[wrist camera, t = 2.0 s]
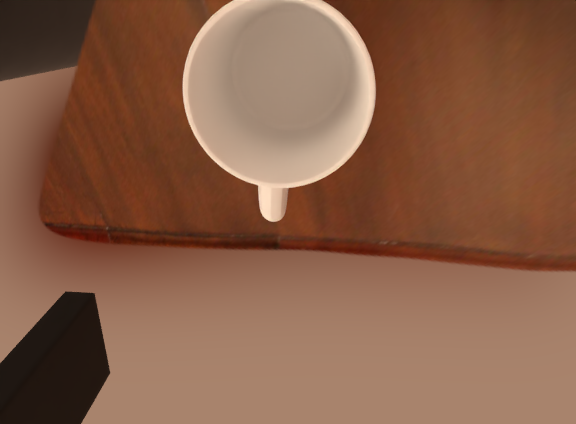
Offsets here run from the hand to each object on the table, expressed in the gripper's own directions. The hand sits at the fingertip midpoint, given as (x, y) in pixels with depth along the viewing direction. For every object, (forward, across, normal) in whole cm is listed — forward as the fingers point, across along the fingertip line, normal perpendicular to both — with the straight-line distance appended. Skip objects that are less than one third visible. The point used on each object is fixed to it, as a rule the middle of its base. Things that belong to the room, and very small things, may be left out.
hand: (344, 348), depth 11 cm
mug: (+20, -3, +3) cm, 21 cm away
